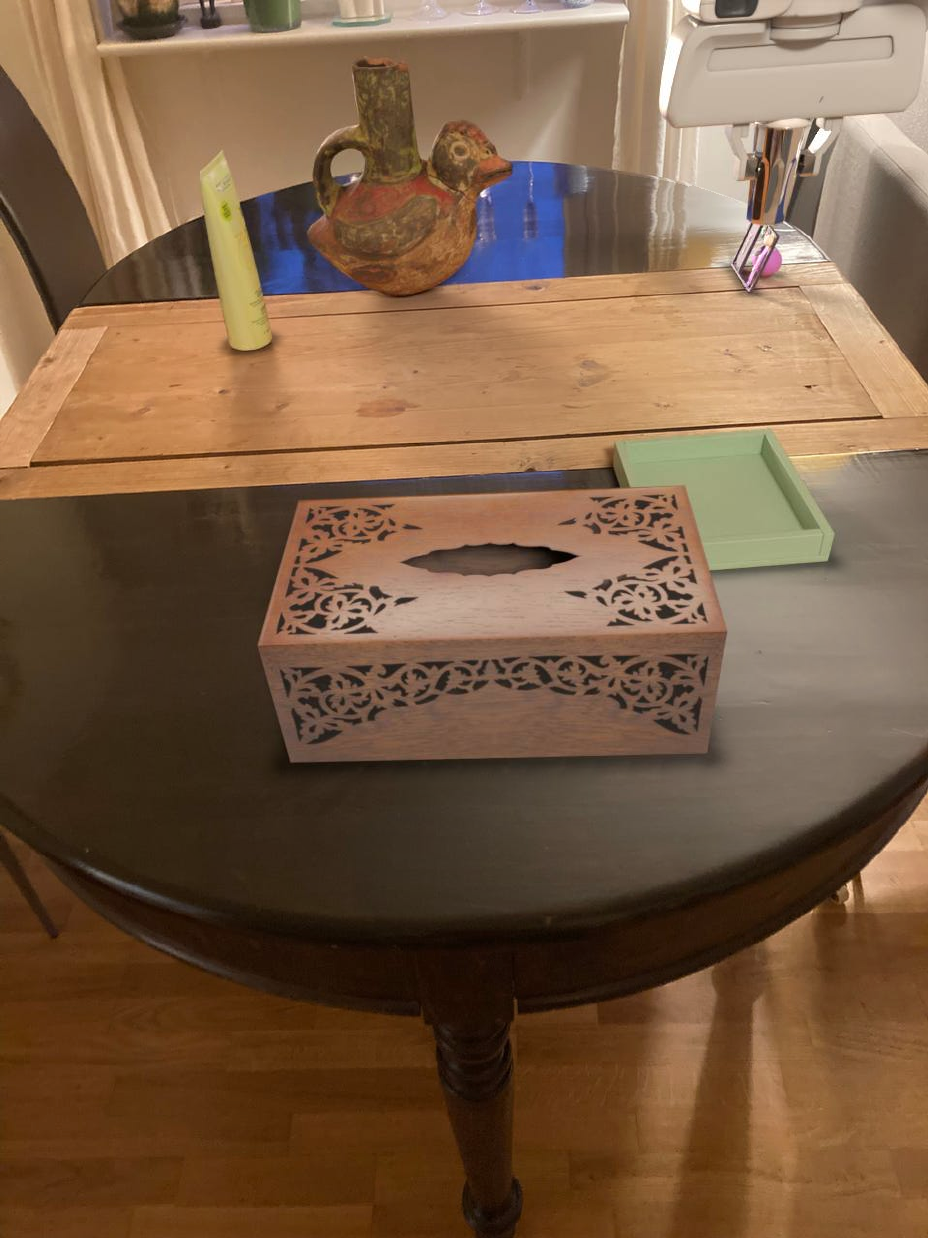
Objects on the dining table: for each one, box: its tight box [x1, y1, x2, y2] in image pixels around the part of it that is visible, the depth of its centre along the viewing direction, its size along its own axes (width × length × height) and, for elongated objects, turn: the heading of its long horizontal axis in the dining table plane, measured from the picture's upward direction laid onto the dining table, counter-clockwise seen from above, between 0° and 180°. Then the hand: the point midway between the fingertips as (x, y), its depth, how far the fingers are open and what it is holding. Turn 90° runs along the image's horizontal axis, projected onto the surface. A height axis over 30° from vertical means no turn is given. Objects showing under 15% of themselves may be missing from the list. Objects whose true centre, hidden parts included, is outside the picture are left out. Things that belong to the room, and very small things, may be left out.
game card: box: [730, 222, 783, 294], centre depth 109 cm, size 7×5×9 cm
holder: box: [612, 428, 836, 571], centre depth 75 cm, size 14×16×3 cm
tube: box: [199, 149, 273, 352], centre depth 99 cm, size 6×5×20 cm
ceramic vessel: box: [306, 55, 514, 296], centre depth 107 cm, size 17×26×25 cm, turn 80°
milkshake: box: [746, 96, 824, 227], centre depth 78 cm, size 4×5×10 cm
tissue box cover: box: [257, 485, 728, 763], centre depth 59 cm, size 26×14×10 cm, turn 89°
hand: (774, 176), depth 78 cm, fingers closed on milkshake, 4 cm apart
